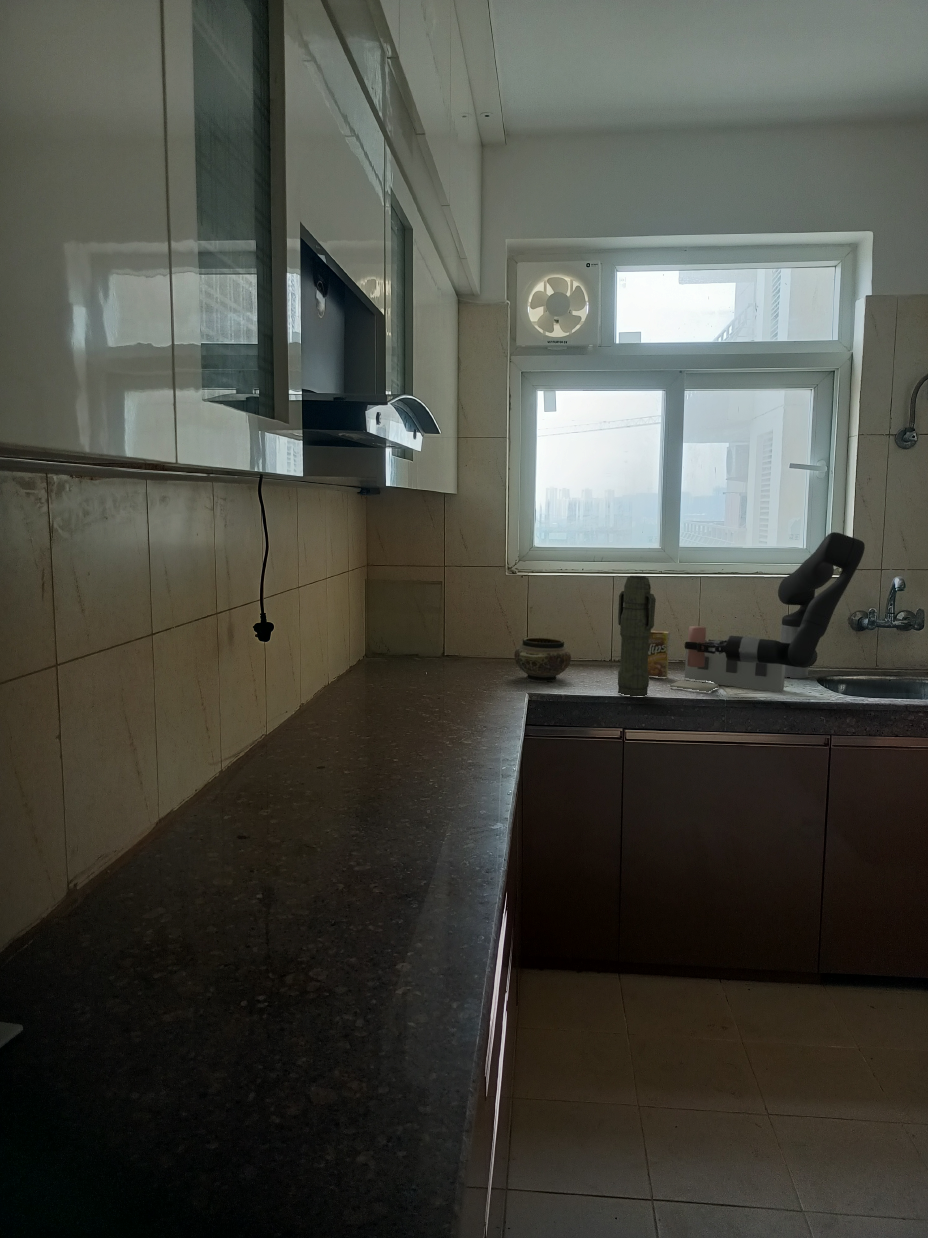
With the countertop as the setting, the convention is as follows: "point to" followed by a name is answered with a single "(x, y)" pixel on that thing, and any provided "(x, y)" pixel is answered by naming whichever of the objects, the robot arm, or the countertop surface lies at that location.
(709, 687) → the pad
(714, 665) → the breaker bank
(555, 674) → the ceramic bowl
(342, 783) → the countertop surface
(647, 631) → the thermos
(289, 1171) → the countertop surface
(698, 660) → the pink cylinder
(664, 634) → the candy box
